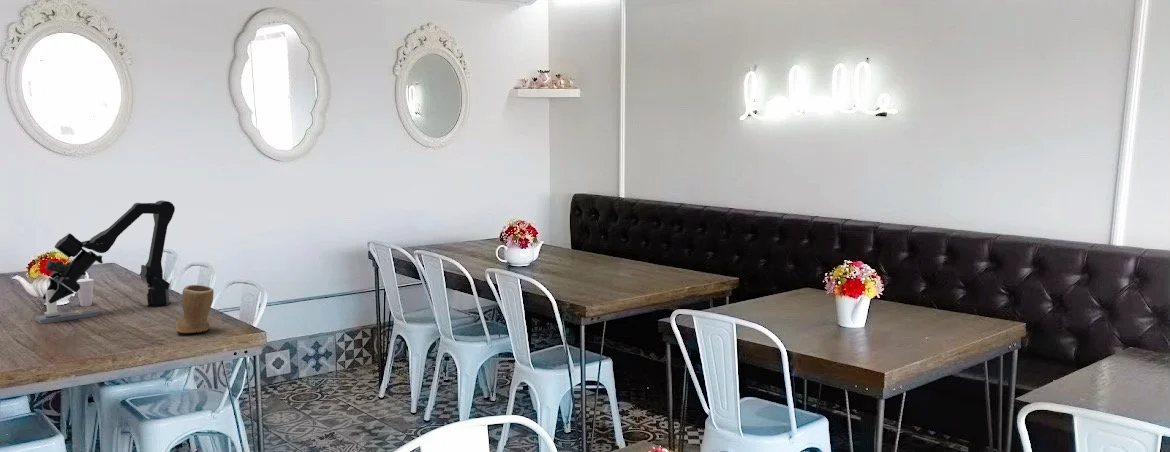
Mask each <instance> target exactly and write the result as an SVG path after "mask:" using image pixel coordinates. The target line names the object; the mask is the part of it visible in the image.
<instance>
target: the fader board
mask: <svg viewBox="0 0 1170 452" xmlns="http://www.w3.org/2000/svg"><path fill="white" fill-rule="evenodd" d="M99 312H100V311H99V310H97V309H96V308H94V307H91V308H84V309H79V310H78V309H77V310H70V311H64V312H61V315H57V316H50V317H47V316H46V315H44V314H41V315H36V316H35V315H34V320H35V321H36V323H38V324H40V325H43V324H51V323H57V322H64V321H72V320H77V319H78V320H79V319H86V318H91V317H98V316H100V313H99Z"/></svg>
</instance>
